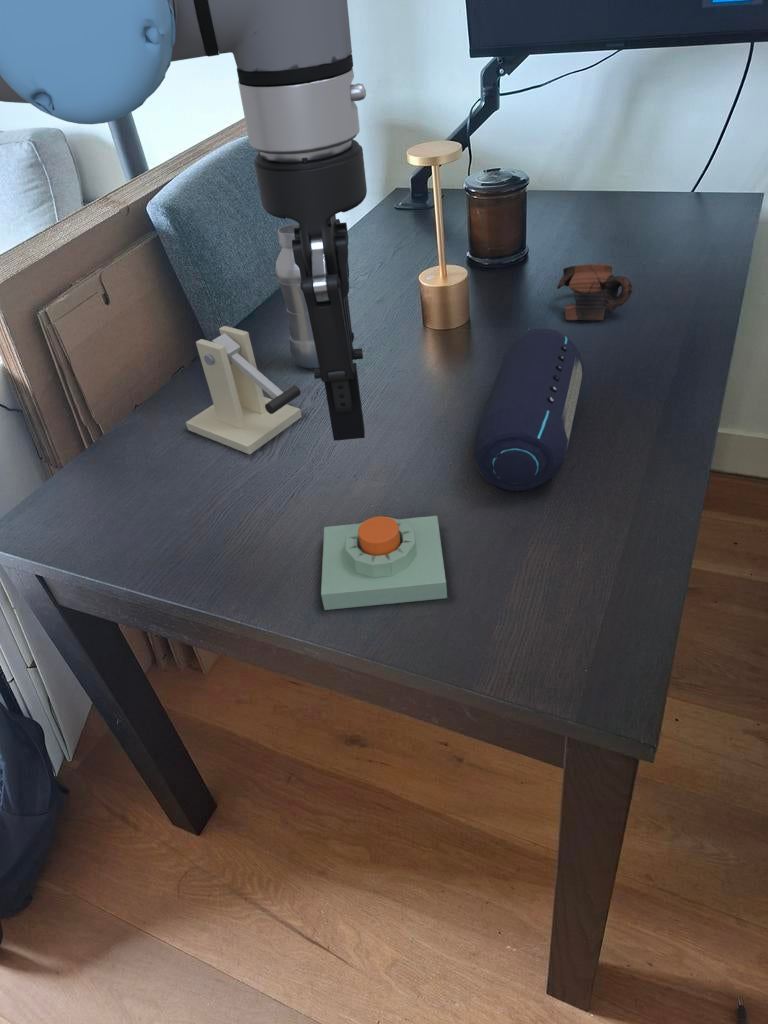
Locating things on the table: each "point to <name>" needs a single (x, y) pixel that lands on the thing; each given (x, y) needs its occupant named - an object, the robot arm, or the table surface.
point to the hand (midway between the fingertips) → (349, 434)
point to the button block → (383, 567)
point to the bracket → (236, 400)
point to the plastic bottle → (295, 302)
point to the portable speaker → (530, 411)
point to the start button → (379, 536)
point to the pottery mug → (594, 291)
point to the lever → (257, 376)
